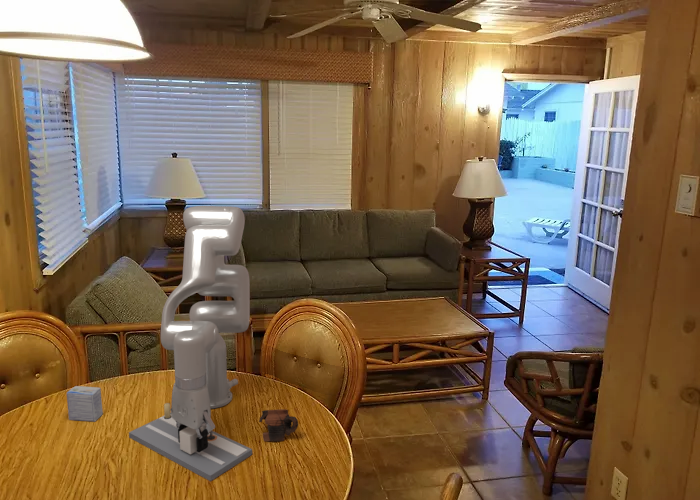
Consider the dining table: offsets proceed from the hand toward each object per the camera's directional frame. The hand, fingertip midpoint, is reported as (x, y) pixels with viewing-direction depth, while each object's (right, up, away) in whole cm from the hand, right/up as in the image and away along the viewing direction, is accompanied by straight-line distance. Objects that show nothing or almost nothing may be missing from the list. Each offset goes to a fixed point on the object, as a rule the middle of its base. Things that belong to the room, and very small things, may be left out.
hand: (193, 444), depth 142 cm
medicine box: (-36, +2, +17) cm, 40 cm away
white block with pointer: (+1, -1, +2) cm, 2 cm away
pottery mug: (+20, -1, +12) cm, 24 cm away
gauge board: (-2, -2, +4) cm, 5 cm away
